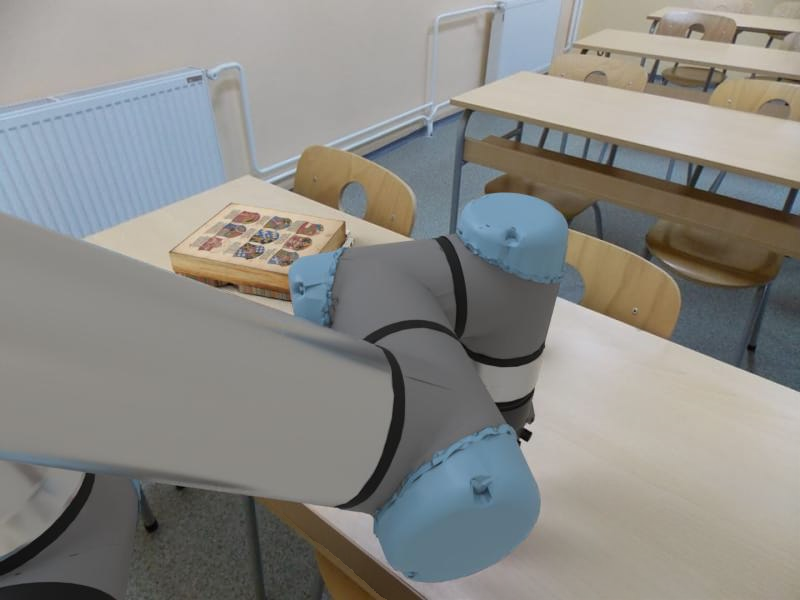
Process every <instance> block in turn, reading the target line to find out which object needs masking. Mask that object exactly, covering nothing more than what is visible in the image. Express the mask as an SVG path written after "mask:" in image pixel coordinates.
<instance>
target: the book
mask: <svg viewBox="0 0 800 600" xmlns="http://www.w3.org/2000/svg"><path fill="white" fill-rule="evenodd" d="M346 223H347V222H346V220H341V219H340V220H339V219H334V218H328V217H321V216H317V215H310V214H305V213H304V214H303V213H297V212H293V211H286V210H280V209H273V208H269V207H268V208H266V207H262V206H255V205H249V204H244V203H237V202H230V203H228V204H227V205H226V206H224V207H223V208H222V209H221V210H220V211H218V212H217V213H216V214H215V215H213V216H212V217H211V218H210V219H208V220H207V221H206V222H204V223H203V224H202V225H201V226H200V227H198V228H197V229H196V230H194V231H193V232H192V233H190V235H188V236H187V237H185V238H184V239H183V240H182V241H181V242H180V243H178V244H177V245H176V246H174V247H173V248H172V249H170V250H169V251H168V255H169V259H170V263H171V267H172V270H173V271H172V272H173V273H176V274H179V275H182V276H185V277H187V278H190V279H193V280H196V281H199V282H202V283H204V284H207V285H210V286H213V287H216V288H217V287H220V286H221V287H222V286H226V285H228V284H229V283H230V284H232V285H234V286H237V287H238V291H239V292H240V293H245V294H251V295H258V296H263V297H267V298H268V297H269V298H276V299H279V300H285V301H291V302H292V300H291V293H290V286H289V277H288V273H289V269H290V267H291V265H292V263H293V262H294V261H295V260H297V259H298V258H300V257H304V256H309V255H314V254H319V253H325V252H330V251H335V250H338V249H339V248H341V247H347V248H351V247H353V245H354V243H355V238H354V237H350V235H351V230H350V229H347V224H346Z"/></svg>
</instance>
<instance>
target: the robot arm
mask: <svg viewBox="0 0 800 600" xmlns="http://www.w3.org/2000/svg"><path fill="white" fill-rule="evenodd" d="M456 230H457V233H456V232H455V233H452V234H444V235H439V236H438V237H433V238H421V239H413V240H412V239H411V240H404V241H397V242H387V243H379V244H369V245H362V246H351V247H350V248H347V247H341V248H339V249H338V250H335V251H330V252H325V253H319V254H314V255H309V256H304V257H300V258H298V259H297V260H295V261H294V262H293V263H292V265H291V267H290V269H289V273H288V277H289V286H290V293H291V300H292V301H291V300H290V301H291V306H292V307H291V308H292V313H288V312H286V311H283V310H280V309H277V308H276V307H275V308H274V307H271V306H269V305H266V304H263V303H260V302H257V301H254V300H252V299H250V298H246V297H245V296H244V297H243V296H241V295H237V294H235V293H233V292H229V291H227V290H224V289H221V288H218V287H217V286H216V287H214V286H210V285H207V284H204V283H202V282H199V281H196V280H193V279H190V278H187V277H185V276H182V275H179V274H176V273H175V272H174V271H170V270H168V269H165V268H162V267H159V266H156V265H153V264H151V263H148V262H146V261H143V260H140V259H137V258H133V257H131V256H128V255H126V254H123V253H120V252H117V251H114V250H111V249H110V248H109V249H108V248H106V247H103V246H100V245H97V244H94V243H92V242H89V241H86V240H84V239H81V238H78V237H75V236H72V235H70V234H67V233H64V232H61V231H58V230H56V229H52V228H50V227H47V226H44V225H42V224H39V223H35V222H33V221H30V220H27V219H26V218H25V219H24V218H22V217H19V216H17V215H13V214H12V213H11V214H10V213H8V212H4V211H2V210H0V600H127V593H128V586H129V580H130V571H131V565H132V557H133V550H134V545H135V537H136V530H137V529H138V526H139V522H140V517H141V511H142V503H141V501H142V495H141V481H143V482H150V483H156V484H157V483H159V484H165V485H171V486H178V487H184V488H185V487H186V488H191V489H192V488H193V489H200V490H208V491H214V492H221V493H226V494H227V493H228V494H235V495H242V496H248V497H249V496H250V497H256V498H263V499H271V500H279V501H285V502H292V503H299V504H306V505H313V506H318V507H326V508H332V509H333V508H334V509H339V510H341V511H348V512H355V513H363V514H367V515H369V516H370V517H372V519H373V525H372V532H373V535H374V536H375V538H376V539H378V542H379V545H380V547H381V549H382V552H383V555H384V558H385V560H386V562H387V564H388V565H389V566H390V567H391V568H392V569H394V571H396V572H401V574H402V575H403V577H404V578H406V579H408V580H411V581H414V582H417V583H418V582H419V583H427V584H435V583H445V582H449V581H450V582H451V581H456V580H459V579H462V578H466V577H470V576H471V575H475V574H477V573H480V572H482V571H484V570H486V569H488V568H489V567H492V566H493V565H495V564H497V563H499V562H500V561H502V560H504V559H505V558H506V557H507V556H509V555H510V554H511V553H512V552H513V551H514V550H515V549H517V547H518V546H519V545H521V544H522V543H523V542H524V541H525V540H526V539H527V538H528V537H529V536H530V534H531V532H532V531H533V529H534V528H535V526H536V524H537V522H538V519H539V515H540V514H541V505H542V499H541V492H540V489H539V486H538V482H537V481H536V479H535V476H534V474H533V472H532V470H531V467H530V465H529V463H528V461H527V459H526V457H525V455H524V452H523V451H522V448H521V445H522V441H524V442H526V443H529V442H530V440H531V438H532V436H533V432H532V431H531V430H529V429H527V428H525V426H526V425H527V424H528V425H532V424H533V423H534V422H535V419H536V412H535V408H534V402H533V399H534V395H535V391H536V386H537V383H538V381H539V376H540V372H541V368H542V367H541V366H542V363H543V358H544V353H545V349H546V341H547V337H548V333H549V330H550V329H549V328H550V326H551V323H552V317H553V314H554V310H555V306H556V301H557V299H558V293H559V290H560V286H561V284H562V283H561V282H562V281H563V279H564V277H565V263H566V257H567V252H568V247H569V246H568V244H569V243H568V241H569V231H570V230H569V224H568V222H567V219H566V217H565V216H564V215H563V213H562V212H561V211H559V210H558V209H556V207H555V206H554V205H553V204H551V203H550V202H548V201H546V200H543V199H540V198H539V197H535V196H532V195H528V194H523V193H517V192H494V193H493V192H492V193H487V194H484V195H482V196H481V197H480V198H476V199H472V200H471V201H469V202H468V203H466V205H465V206H464V208H463V209H462V212H461V215H460V219H459V222H458V224H457V227H456ZM520 439H521V440H520Z"/></svg>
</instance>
